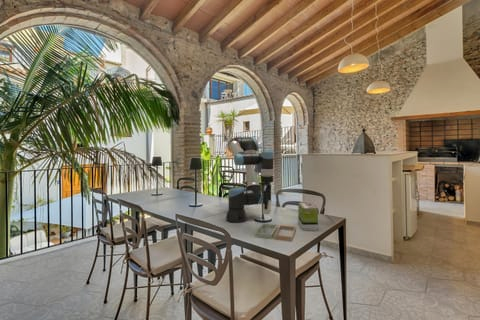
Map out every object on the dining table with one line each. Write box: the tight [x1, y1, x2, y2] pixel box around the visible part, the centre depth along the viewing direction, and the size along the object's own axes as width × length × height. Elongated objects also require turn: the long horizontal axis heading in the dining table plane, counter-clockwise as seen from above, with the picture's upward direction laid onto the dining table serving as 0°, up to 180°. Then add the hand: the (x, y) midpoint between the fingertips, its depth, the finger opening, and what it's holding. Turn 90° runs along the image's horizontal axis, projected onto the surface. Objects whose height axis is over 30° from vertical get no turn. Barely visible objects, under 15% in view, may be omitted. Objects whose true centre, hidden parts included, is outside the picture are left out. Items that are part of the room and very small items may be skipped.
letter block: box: [262, 199, 272, 216], centre depth 152 cm, size 4×4×8 cm
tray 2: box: [273, 224, 297, 242], centre depth 149 cm, size 10×18×2 cm, turn 160°
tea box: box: [297, 201, 319, 231], centre depth 163 cm, size 15×10×15 cm
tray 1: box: [254, 222, 279, 240], centre depth 153 cm, size 10×18×2 cm, turn 160°
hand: (267, 213), depth 152 cm, fingers closed on letter block, 4 cm apart
